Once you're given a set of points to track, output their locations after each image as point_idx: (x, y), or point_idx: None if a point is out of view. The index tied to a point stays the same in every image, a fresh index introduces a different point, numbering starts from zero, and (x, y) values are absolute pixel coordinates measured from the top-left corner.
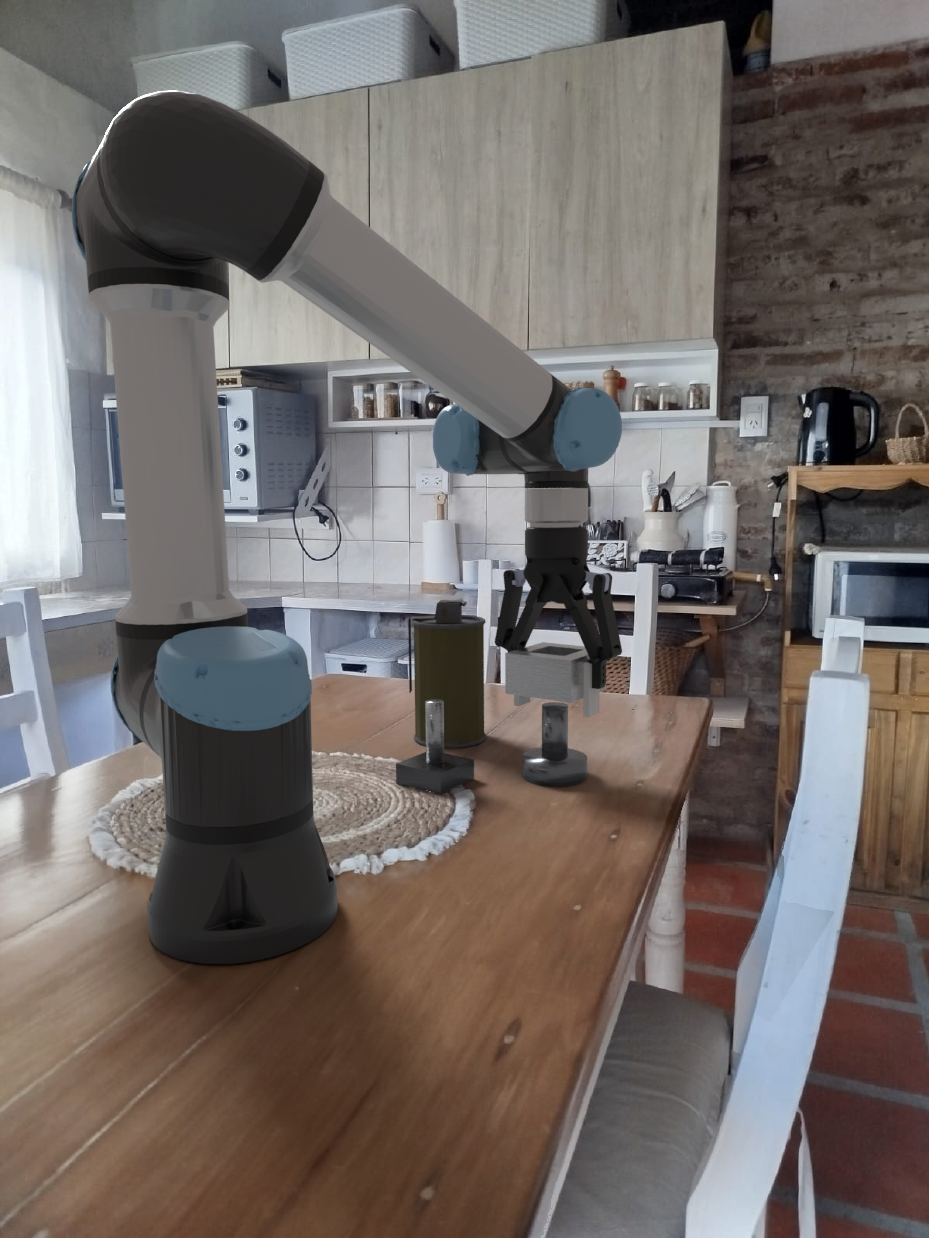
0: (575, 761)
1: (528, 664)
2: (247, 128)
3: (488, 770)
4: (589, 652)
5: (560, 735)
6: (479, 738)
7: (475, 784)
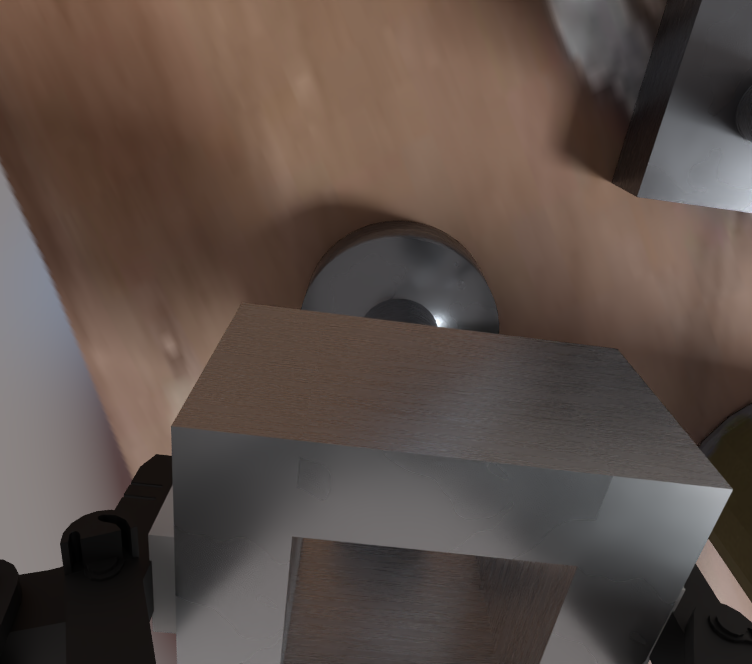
0: None
1: (520, 428)
2: None
3: (593, 273)
4: (127, 597)
5: None
6: None
7: (591, 137)
